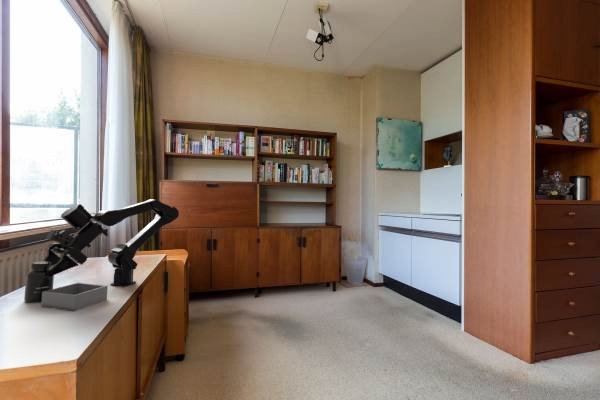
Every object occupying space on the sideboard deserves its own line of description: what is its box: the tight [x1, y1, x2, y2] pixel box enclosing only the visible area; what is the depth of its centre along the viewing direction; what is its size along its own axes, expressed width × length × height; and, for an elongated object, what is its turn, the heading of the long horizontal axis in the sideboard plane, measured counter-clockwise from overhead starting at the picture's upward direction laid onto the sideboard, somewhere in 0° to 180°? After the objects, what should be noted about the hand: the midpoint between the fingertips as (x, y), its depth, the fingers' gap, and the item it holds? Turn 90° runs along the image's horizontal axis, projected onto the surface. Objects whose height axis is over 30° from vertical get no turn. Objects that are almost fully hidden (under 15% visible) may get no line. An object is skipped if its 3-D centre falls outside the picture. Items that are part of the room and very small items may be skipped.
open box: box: [40, 282, 108, 312], centre depth 94 cm, size 12×12×4 cm
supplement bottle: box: [24, 260, 55, 304], centre depth 96 cm, size 7×7×12 cm
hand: (42, 273), depth 96 cm, fingers open, 9 cm apart
